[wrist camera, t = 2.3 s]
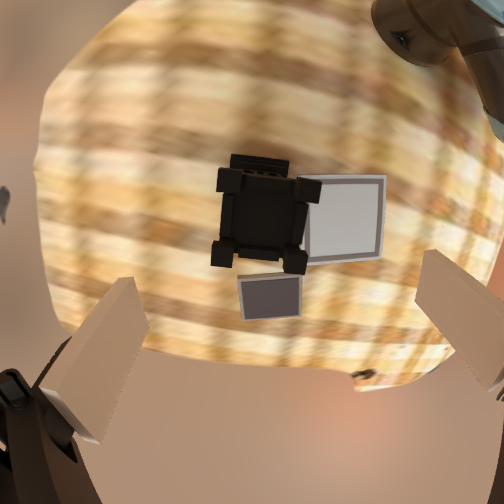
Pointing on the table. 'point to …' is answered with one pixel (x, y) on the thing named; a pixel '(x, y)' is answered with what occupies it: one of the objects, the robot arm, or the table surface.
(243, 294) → the ink pad
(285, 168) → the chess piece
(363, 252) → the print sheet
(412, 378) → the table surface
